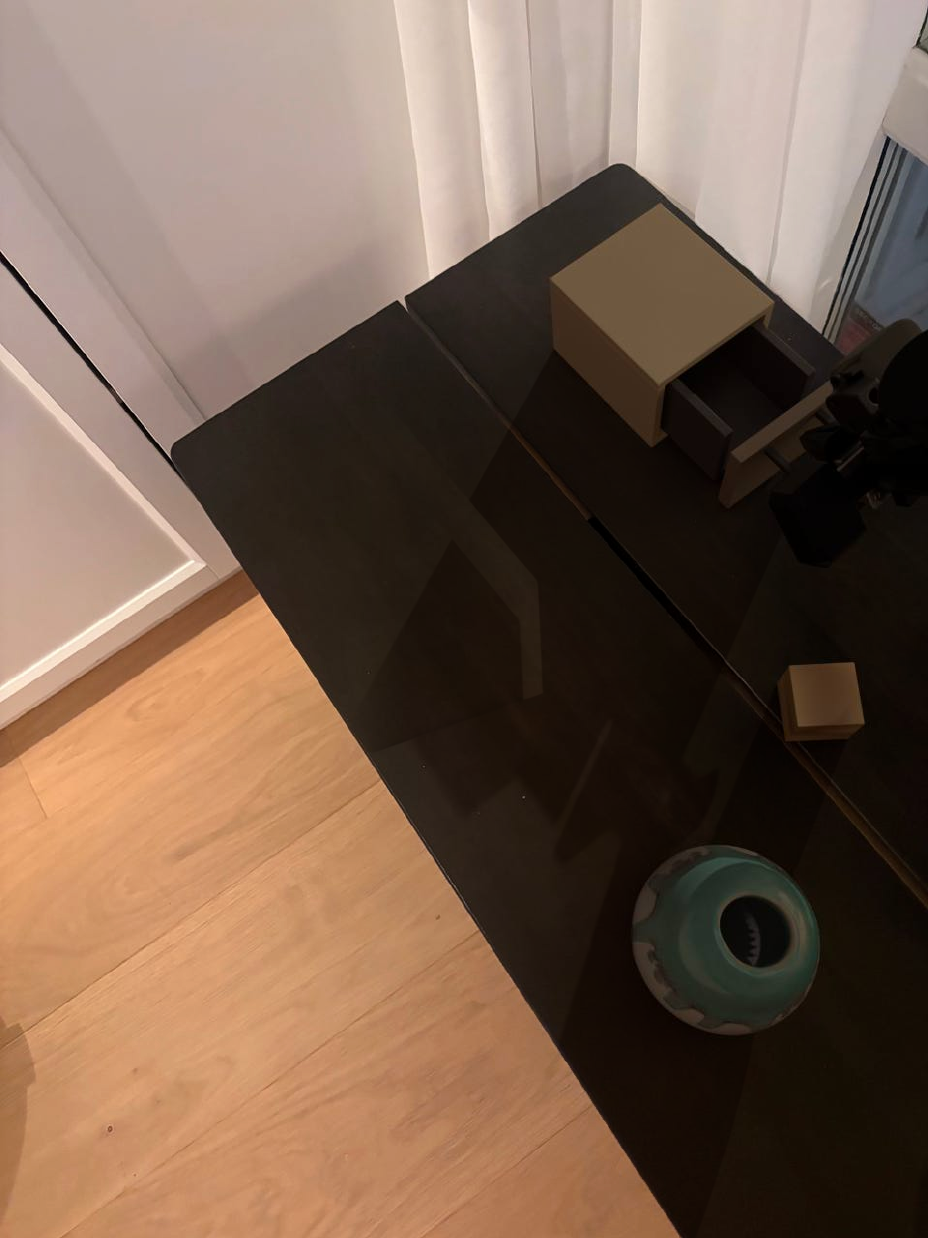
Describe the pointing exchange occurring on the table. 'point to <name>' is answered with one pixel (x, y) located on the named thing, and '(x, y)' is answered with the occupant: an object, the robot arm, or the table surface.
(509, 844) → the table surface
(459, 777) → the table surface
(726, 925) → the vase
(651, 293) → the beige drawer cabinet
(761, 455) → the pull-out drawer box
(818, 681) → the block
